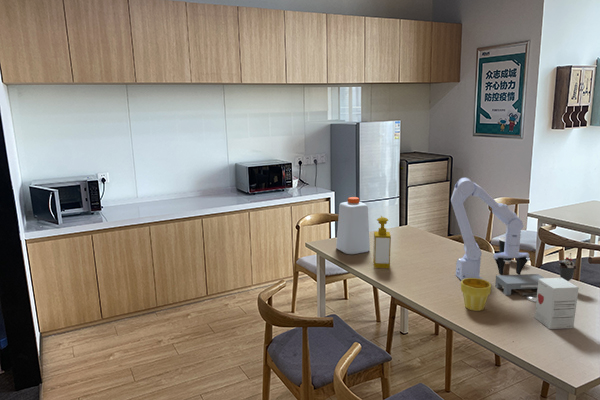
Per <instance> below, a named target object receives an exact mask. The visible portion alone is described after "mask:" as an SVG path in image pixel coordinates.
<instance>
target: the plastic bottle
mask: <svg viewBox="0 0 600 400" xmlns="http://www.w3.org/2000/svg"><path fill="white" fill-rule="evenodd" d="M337 220H338V221H337V232H336V242H335V243H336V244H335V247H336V250H338V251H340V252H343V253H344V254H347V255H359V254H361V253H362V254H363V253H364V254H365V253H368V252H369V251H370V249H371V247H370V246H371V244H370V243H371V242H370V227H369V226H370V225H369V206H368V204H366V203H365V202H362V201H360V198H359V197H357V196H351V197H348V198H347V201H344V202H340V203H339V206H338V219H337Z"/></svg>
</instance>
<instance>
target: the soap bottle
mask: <svg viewBox="0 0 600 400" xmlns="http://www.w3.org/2000/svg"><path fill="white" fill-rule="evenodd" d="M376 221H378V224H379V225H380V227H378V231H373V257H372V259H373V263H374V264H373V263H372V264H373V269H390V267H391V242H392V240H391V239H392V236H391V233H390V231H387V228H386V227H385V225H387V224H388V222H389V219H388V218H387V217H384V216H382V215H380V217H379V218H377V219H376Z"/></svg>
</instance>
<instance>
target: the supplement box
mask: <svg viewBox="0 0 600 400" xmlns="http://www.w3.org/2000/svg"><path fill="white" fill-rule="evenodd" d="M579 290H580V289H579V286H577V285H575V284H573V283H572V282H570V281H567V280H565V279H563V278H561V277H544V278H541V279H539V280H538V288H537V290H536V292H537V300H536V302H535V312H534V319H536V320H537V321H538V322H540V323H541V324H542V325H543V326H545V327H546V328H548V329H549V330H559V329H574V327H575V318H576V313H577V312H576V311H577V305H578V304H577V302H578V297H579V296H578V295H579Z"/></svg>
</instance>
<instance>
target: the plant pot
mask: <svg viewBox="0 0 600 400" xmlns="http://www.w3.org/2000/svg"><path fill="white" fill-rule="evenodd" d="M460 290H461V292H462V297H463V302H464V306H465V308H466V309H468V310H470V311H473V312H474V311H475V312H478V311H479V312H480V311H483V310H484V309H485V306H486V304H487V303H486V302H487V301H488V297H489V295H491V291H492V283H491V282H489V281H487V280H485V279H483V278H482V279H479V278H466V279H463V280H462V281H461V280H460Z"/></svg>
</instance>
